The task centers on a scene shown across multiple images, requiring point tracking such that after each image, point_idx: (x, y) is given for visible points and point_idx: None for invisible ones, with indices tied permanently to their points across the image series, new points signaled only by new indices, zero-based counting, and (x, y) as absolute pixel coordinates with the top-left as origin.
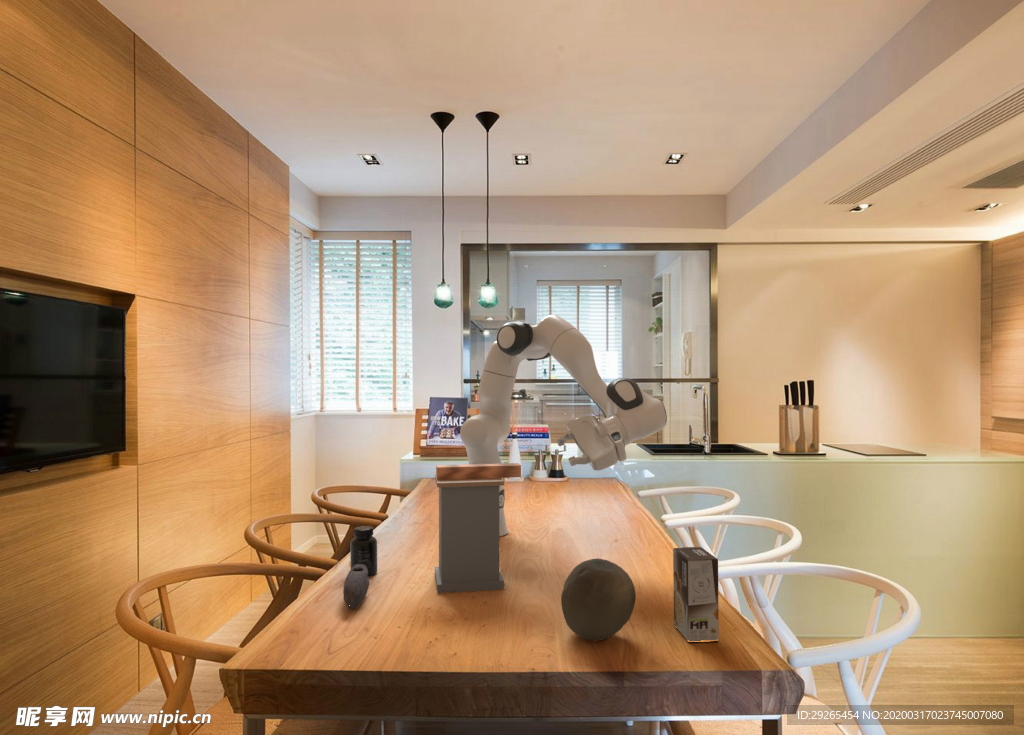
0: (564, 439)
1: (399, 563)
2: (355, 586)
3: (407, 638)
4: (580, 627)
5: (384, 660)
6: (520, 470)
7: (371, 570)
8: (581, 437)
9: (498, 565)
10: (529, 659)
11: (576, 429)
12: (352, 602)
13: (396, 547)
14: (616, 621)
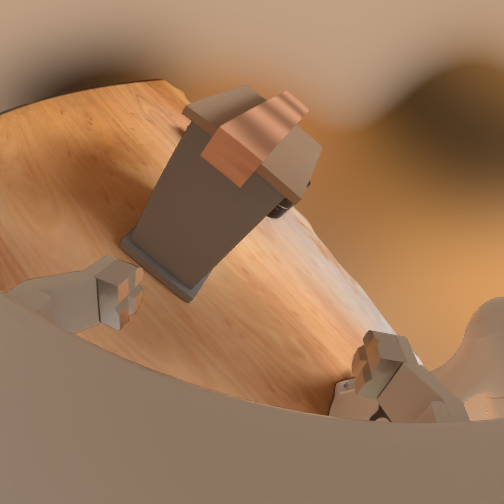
0: (397, 391)
1: (284, 251)
2: None
3: (110, 117)
4: None
5: (100, 95)
6: (212, 139)
7: None
8: (268, 458)
9: (136, 226)
10: (4, 126)
11: (466, 464)
12: (187, 127)
13: (335, 291)
14: None
